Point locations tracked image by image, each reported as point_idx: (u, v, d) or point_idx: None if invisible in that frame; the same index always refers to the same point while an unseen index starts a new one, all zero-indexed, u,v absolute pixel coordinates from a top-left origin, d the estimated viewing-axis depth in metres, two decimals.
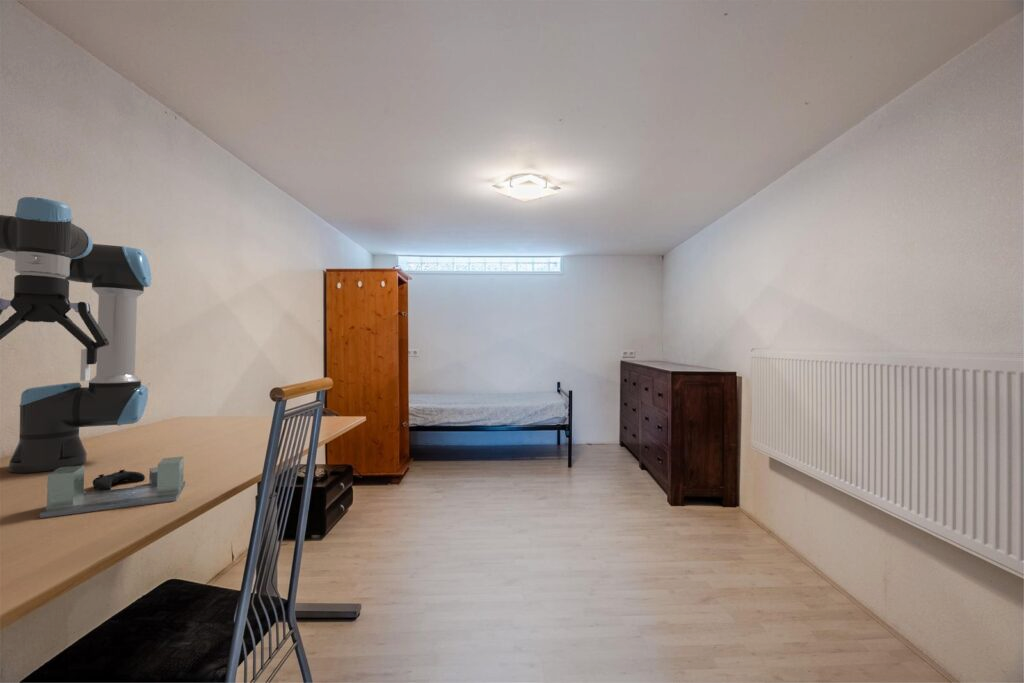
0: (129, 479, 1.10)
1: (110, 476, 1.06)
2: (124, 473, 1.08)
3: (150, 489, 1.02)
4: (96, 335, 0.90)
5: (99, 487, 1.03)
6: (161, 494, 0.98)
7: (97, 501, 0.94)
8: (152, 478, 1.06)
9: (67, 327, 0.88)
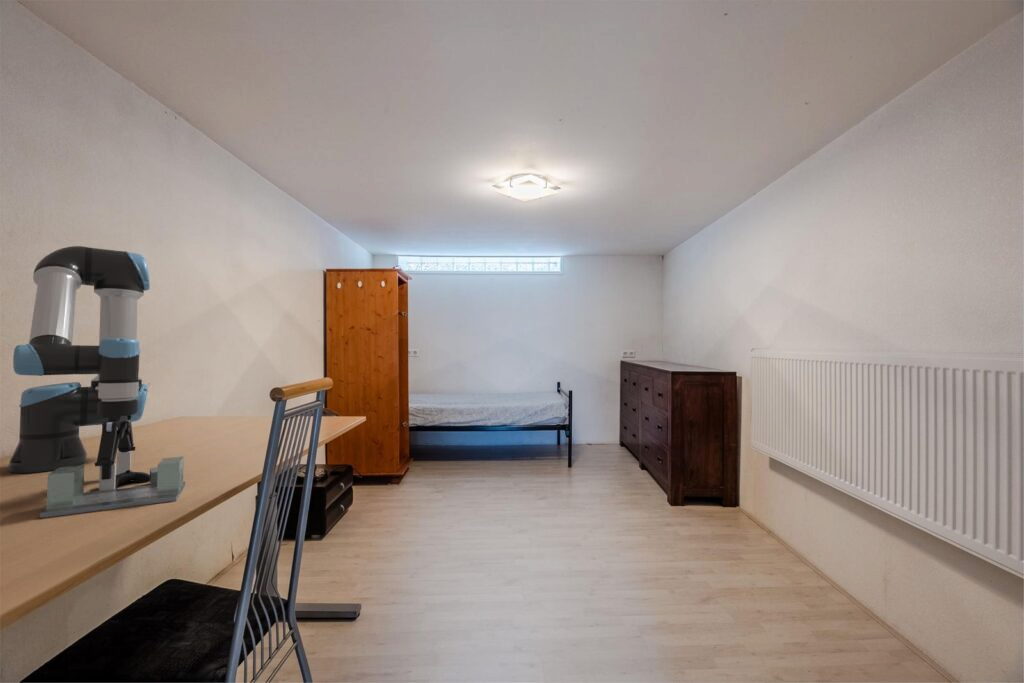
0: (135, 479, 1.09)
1: (116, 476, 1.06)
2: (130, 473, 1.08)
3: (150, 489, 1.02)
4: None
5: None
6: (161, 494, 0.98)
7: (97, 501, 0.94)
8: (152, 478, 1.06)
9: None
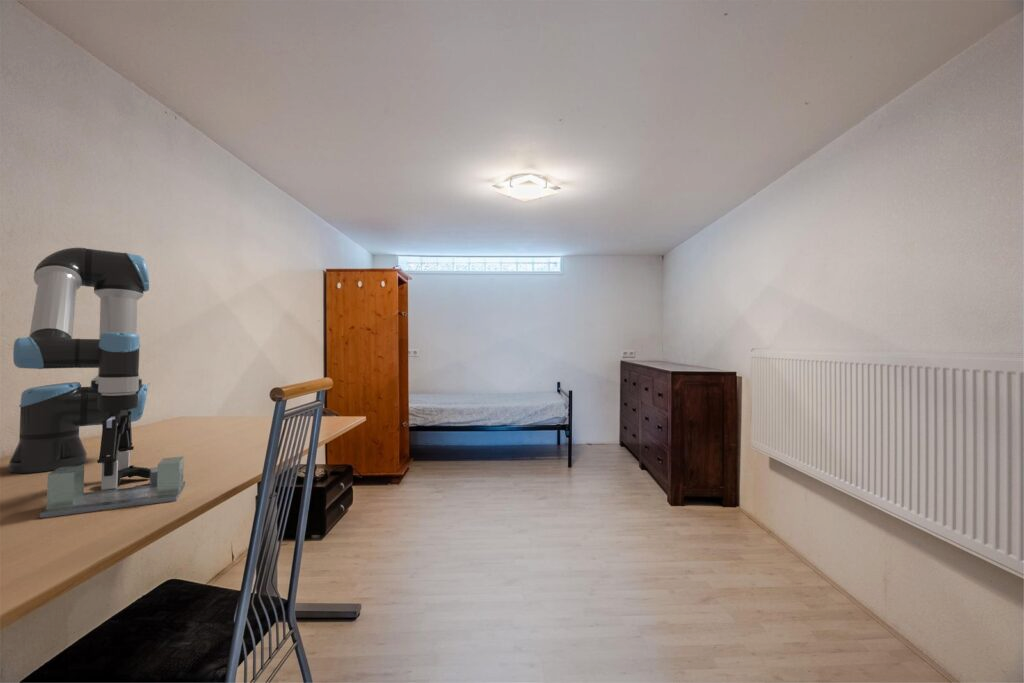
0: (138, 475, 1.11)
1: (119, 472, 1.07)
2: (133, 469, 1.10)
3: (150, 489, 1.02)
4: None
5: None
6: (161, 494, 0.98)
7: (97, 501, 0.94)
8: (152, 478, 1.06)
9: None
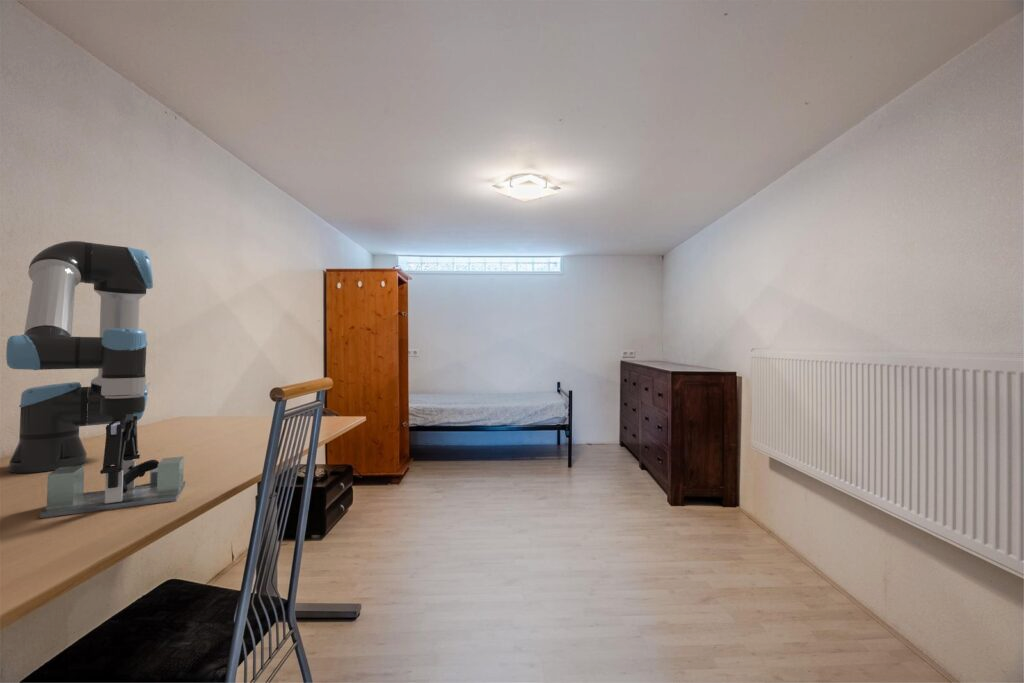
0: (145, 470, 1.01)
1: None
2: (133, 468, 0.99)
3: (150, 489, 1.02)
4: None
5: None
6: (161, 494, 0.98)
7: (97, 501, 0.94)
8: (151, 478, 1.06)
9: None
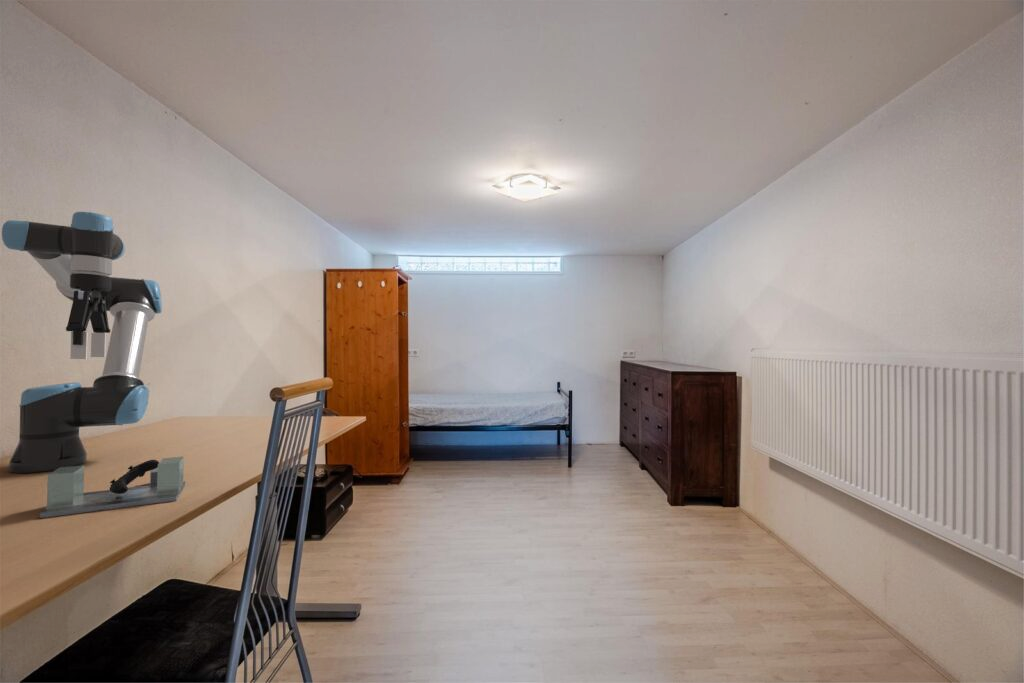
0: (145, 470, 1.01)
1: (120, 477, 0.97)
2: (133, 468, 0.99)
3: (150, 489, 1.02)
4: None
5: (115, 492, 0.94)
6: (161, 494, 0.98)
7: (97, 501, 0.94)
8: (151, 478, 1.06)
9: None
